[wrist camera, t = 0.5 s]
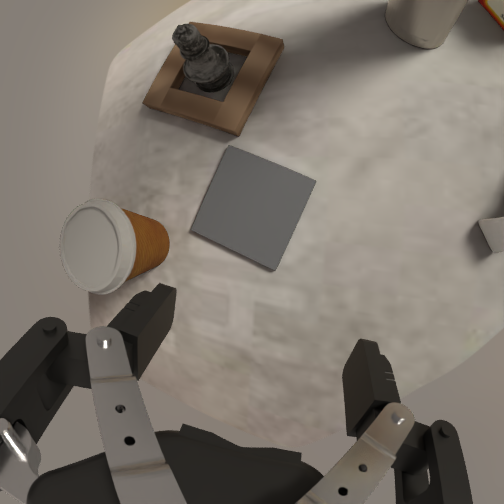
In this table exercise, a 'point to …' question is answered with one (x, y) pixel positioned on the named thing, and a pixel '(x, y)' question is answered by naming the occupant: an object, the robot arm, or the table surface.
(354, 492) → the robot arm
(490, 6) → the baking soda box
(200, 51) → the black chess piece
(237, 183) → the charcoal coaster
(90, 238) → the disposable coffee cup
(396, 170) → the table surface
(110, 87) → the table surface
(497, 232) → the spoon rest
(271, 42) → the walnut holder
